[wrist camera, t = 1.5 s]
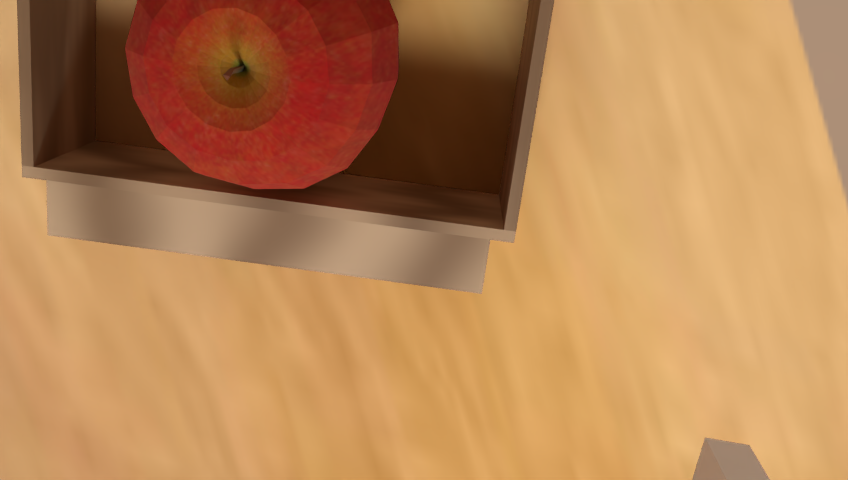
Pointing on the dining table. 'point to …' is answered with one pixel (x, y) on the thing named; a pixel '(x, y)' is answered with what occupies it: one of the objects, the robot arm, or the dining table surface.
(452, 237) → the brown shallow open box
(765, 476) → the robot arm
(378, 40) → the apple
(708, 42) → the dining table surface
